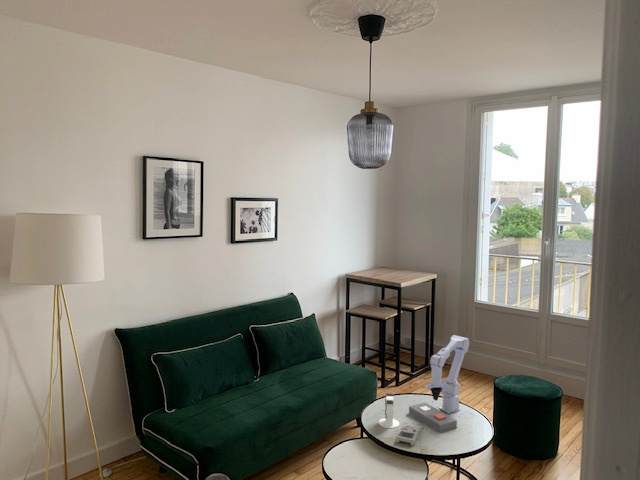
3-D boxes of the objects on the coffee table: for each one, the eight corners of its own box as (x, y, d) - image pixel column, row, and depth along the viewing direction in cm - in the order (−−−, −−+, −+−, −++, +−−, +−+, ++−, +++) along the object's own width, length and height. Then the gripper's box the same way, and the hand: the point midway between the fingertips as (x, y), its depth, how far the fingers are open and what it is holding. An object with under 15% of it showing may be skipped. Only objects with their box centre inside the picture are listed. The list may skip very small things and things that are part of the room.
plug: (419, 414, 280) (419, 407, 280) (425, 412, 282) (425, 405, 282) (424, 417, 276) (424, 410, 276) (431, 415, 278) (431, 409, 278)
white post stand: (378, 417, 276) (379, 392, 275) (398, 418, 275) (399, 393, 274) (379, 427, 264) (379, 400, 263) (400, 428, 263) (400, 402, 262)
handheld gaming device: (419, 434, 258) (419, 427, 258) (413, 447, 244) (413, 439, 244) (403, 431, 261) (403, 424, 261) (396, 443, 248) (396, 436, 248)
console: (408, 412, 283) (409, 406, 282) (424, 408, 288) (425, 402, 288) (439, 432, 260) (440, 425, 259) (456, 427, 266) (456, 420, 265)
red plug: (433, 421, 270) (433, 414, 269) (439, 420, 272) (440, 413, 272) (439, 425, 265) (439, 418, 265) (445, 423, 268) (446, 416, 267)
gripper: (441, 372, 282) (440, 395, 283) (421, 376, 275) (420, 399, 277) (449, 376, 276) (448, 399, 277) (430, 380, 269) (429, 403, 270)
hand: (435, 399), depth 276 cm, fingers closed
